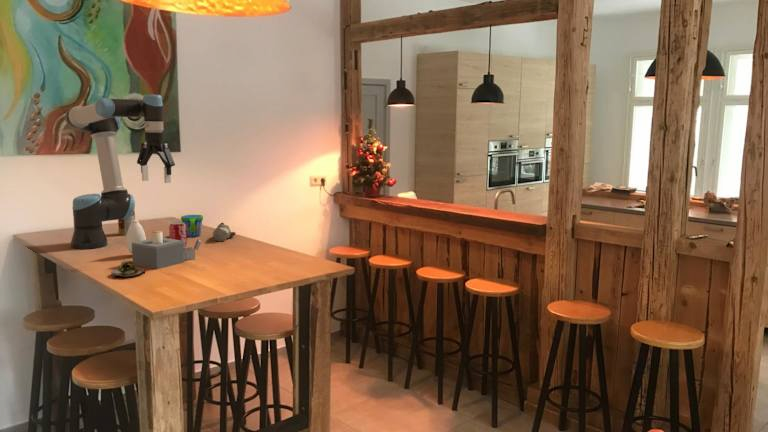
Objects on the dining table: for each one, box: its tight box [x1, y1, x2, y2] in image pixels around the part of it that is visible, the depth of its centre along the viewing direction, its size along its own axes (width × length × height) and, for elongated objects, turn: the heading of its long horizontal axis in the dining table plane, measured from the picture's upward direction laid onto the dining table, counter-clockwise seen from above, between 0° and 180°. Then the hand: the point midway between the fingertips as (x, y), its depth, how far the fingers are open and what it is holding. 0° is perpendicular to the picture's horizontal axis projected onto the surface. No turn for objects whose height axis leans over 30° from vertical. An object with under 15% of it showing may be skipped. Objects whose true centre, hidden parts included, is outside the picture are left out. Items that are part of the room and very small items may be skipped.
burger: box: [110, 258, 146, 279], centre depth 229 cm, size 12×12×8 cm
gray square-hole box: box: [131, 237, 185, 270], centre depth 247 cm, size 14×14×9 cm
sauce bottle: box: [125, 214, 147, 254], centre depth 260 cm, size 8×8×18 cm
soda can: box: [168, 221, 188, 250], centre depth 269 cm, size 7×7×13 cm
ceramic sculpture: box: [212, 222, 236, 242], centre depth 298 cm, size 11×9×15 cm
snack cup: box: [180, 214, 204, 238], centre depth 304 cm, size 16×10×10 cm
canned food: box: [117, 209, 136, 236], centre depth 306 cm, size 8×8×12 cm
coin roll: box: [151, 230, 164, 244], centre depth 247 cm, size 4×4×12 cm
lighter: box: [184, 239, 202, 261], centre depth 256 cm, size 7×2×8 cm, turn 128°
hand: (156, 181), depth 259 cm, fingers open, 13 cm apart
